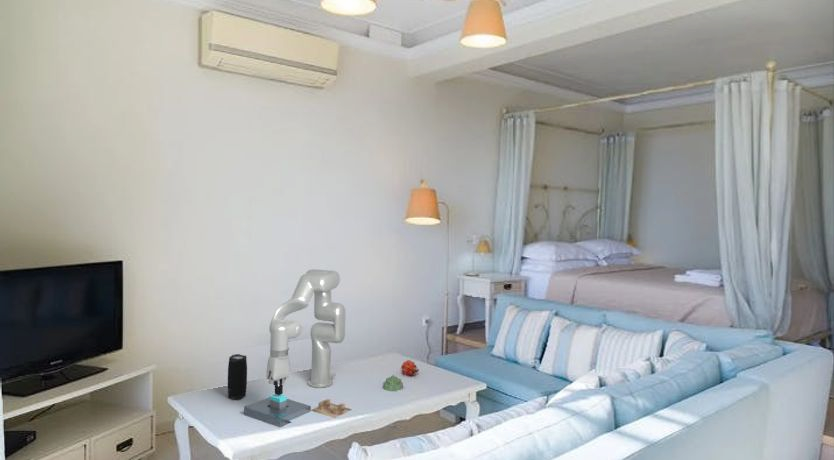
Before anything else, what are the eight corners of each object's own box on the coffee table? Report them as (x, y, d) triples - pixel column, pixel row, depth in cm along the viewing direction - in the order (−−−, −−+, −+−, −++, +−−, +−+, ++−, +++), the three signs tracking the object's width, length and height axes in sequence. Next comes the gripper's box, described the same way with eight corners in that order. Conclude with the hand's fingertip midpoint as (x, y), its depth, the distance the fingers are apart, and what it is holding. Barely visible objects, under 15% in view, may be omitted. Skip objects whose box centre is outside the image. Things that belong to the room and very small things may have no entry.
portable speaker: (230, 401, 251) (230, 360, 250) (225, 395, 259) (226, 354, 258) (248, 398, 255) (249, 357, 254) (243, 392, 263) (244, 352, 262)
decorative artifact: (393, 383, 285) (379, 387, 278) (394, 370, 285) (379, 374, 278) (406, 388, 278) (392, 393, 271) (407, 375, 278) (392, 379, 271)
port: (275, 402, 252) (275, 395, 252) (310, 413, 240) (310, 406, 240) (244, 414, 237) (244, 406, 237) (280, 427, 225) (280, 418, 225)
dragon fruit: (404, 374, 306) (414, 383, 296) (394, 366, 302) (404, 376, 292) (414, 361, 307) (424, 370, 297) (404, 354, 303) (413, 363, 293)
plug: (276, 411, 242) (276, 393, 242) (286, 414, 239) (286, 396, 238) (269, 414, 239) (270, 396, 238) (279, 417, 235) (279, 399, 235)
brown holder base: (328, 404, 252) (328, 396, 252) (352, 411, 245) (352, 402, 244) (310, 412, 242) (310, 403, 242) (334, 420, 234) (334, 411, 234)
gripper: (285, 347, 246) (284, 387, 247) (259, 355, 233) (259, 397, 234) (297, 350, 242) (297, 390, 243) (272, 358, 229) (271, 401, 230)
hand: (278, 393), depth 239 cm, fingers closed
